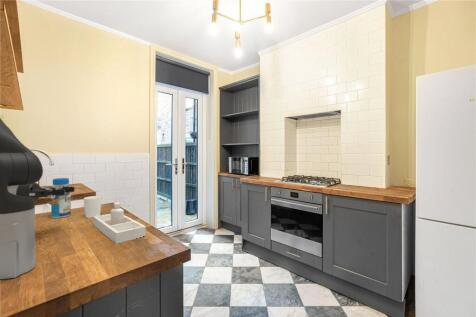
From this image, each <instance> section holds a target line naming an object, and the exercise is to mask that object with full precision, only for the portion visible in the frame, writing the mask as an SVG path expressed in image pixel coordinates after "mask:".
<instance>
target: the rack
mask: <svg viewBox="0 0 476 317" xmlns="http://www.w3.org/2000/svg"><path fill="white" fill-rule="evenodd" d="M92 219H93V226H94V227H95V228H96V229H97V230H99V231H100V232H101V233H103V234H104V235H105V236H106V237H107V238H109V239H110V240H111V241H112V242H113V243H114V244H116V245H117V244H121V243H125V242H129V241H133V240H137V239H141V238H144V237H143V236H145V237H146V236H147V230H146V229H147V226H146V225H144V224H142V223H141V222H139V221H136V220H135V219H132V218H131V217H129V216H126V215H125V214H124V223H121V224H116V225H111V213H106V214H100V216H94V217H93V218H92ZM140 237H141V238H140ZM136 238H137V239H136Z"/></svg>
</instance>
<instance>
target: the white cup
mask: <svg viewBox="0 0 476 317" xmlns="http://www.w3.org/2000/svg"><path fill="white" fill-rule="evenodd" d="M83 203H84V204H83V205H84V208H83V209H84V214H85V216H84V218H86V219H93V217H94V216H100V215H101V211H102V196H101V195H99V196H98V195H95V196H93V195H92V196H87V197H86V196H85V197H83Z"/></svg>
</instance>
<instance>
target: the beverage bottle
mask: <svg viewBox="0 0 476 317" xmlns="http://www.w3.org/2000/svg"><path fill="white" fill-rule="evenodd" d="M69 184H70V179H69V178H68V177H60V178H59V177H58V178H57V177H56V178H52V186H57V187H59V186H65V187H69ZM58 189H61V188H58ZM71 199H72V194H71V192H65V194H64V195H53V196H50V206H51V207H50V208H51V209H50V211H51V212H50V213H51V218H53V219H62V218H66V217H69V216H71V214H72V212H71V210H72V209H71V208H72V207H71V206H72V204H71V203H72V200H71Z"/></svg>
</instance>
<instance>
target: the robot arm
mask: <svg viewBox="0 0 476 317" xmlns="http://www.w3.org/2000/svg"><path fill="white" fill-rule="evenodd" d="M43 175H44V168H43V165H42V162H41V160H40V158H39V156H37V154H35V153H34V152H33V151H32V150H30V148H28V147H27V146H25V144H23V143H22V142H21V141H20V140H19V138H17V136H16V135H15V134H14V132H13V131H12V130H11V128H9V126H7V124H6V123H5V122H4V120H2V118H1V117H0V280H7V279H14V278H17V277H19V276H21V275H23V274H26V273H28V272H30V271H31V270H33V269H34V268H35V267H36V205H35V204H36V202H37V201H38V200H39V199H40V198H49V197H51V196H53V195H64V194H65V192H70V193H75V191H76V189H75V186H68V187H65V186H59V187H57V186H54V185H52V186H49V185H45V186H40V185H39V183H38V182H39V181H40V180H41V179H42V178H43ZM58 188H61V189H58Z"/></svg>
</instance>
